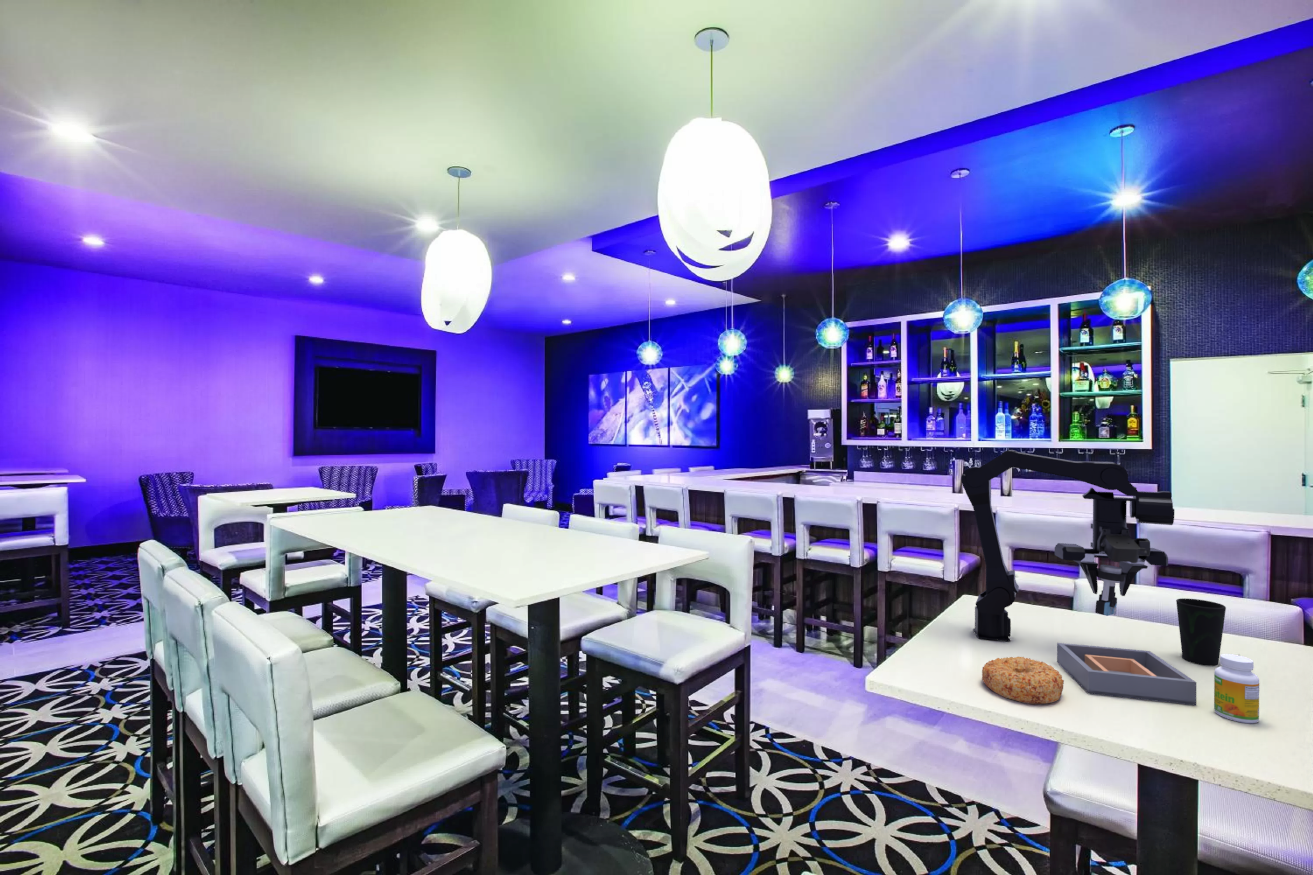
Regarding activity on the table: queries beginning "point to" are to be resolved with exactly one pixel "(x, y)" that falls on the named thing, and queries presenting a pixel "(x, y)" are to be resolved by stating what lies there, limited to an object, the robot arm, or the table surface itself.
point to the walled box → (1125, 673)
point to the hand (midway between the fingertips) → (1108, 594)
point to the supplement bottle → (1236, 689)
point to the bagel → (1023, 680)
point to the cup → (1200, 630)
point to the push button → (1108, 589)
